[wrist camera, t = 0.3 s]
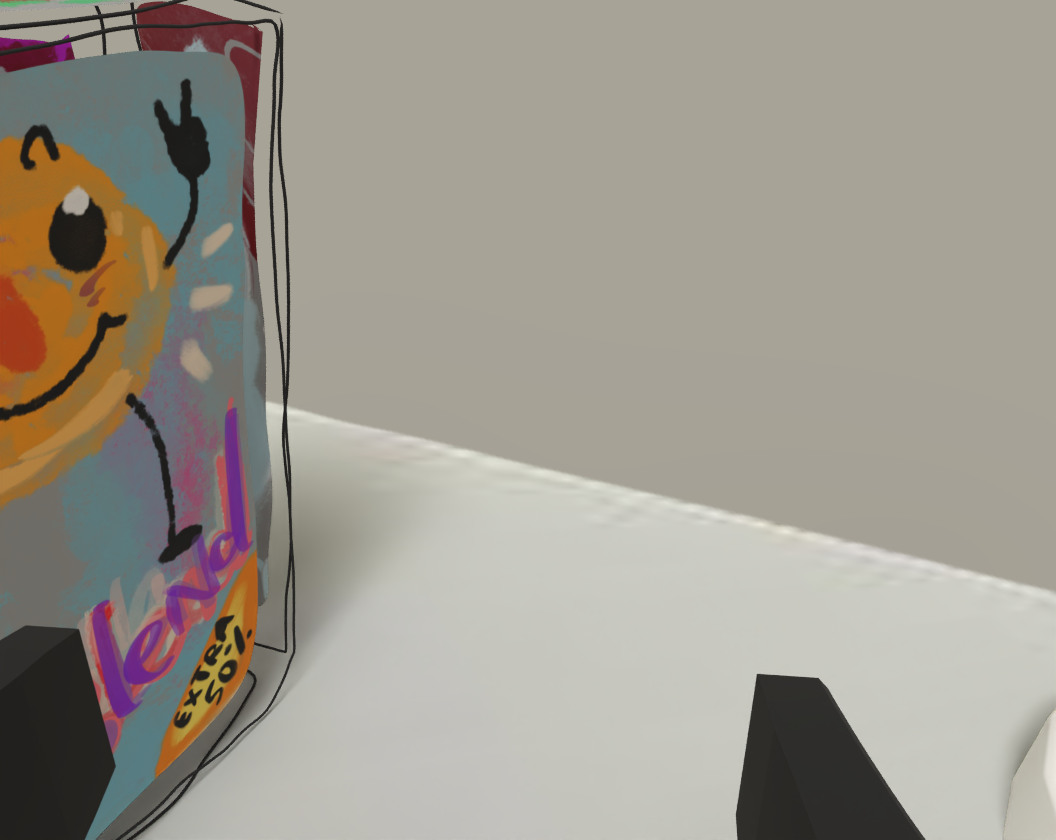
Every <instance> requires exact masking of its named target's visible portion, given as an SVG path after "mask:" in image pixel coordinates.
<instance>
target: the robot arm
mask: <svg viewBox="0 0 1056 840" xmlns="http://www.w3.org/2000/svg"><path fill="white" fill-rule="evenodd" d="M115 768H116V764H115V761H114V757H113V753H112V749H111V746H110V742H109V738H108V735H107V731H106V727H105V723H104V720H103V716H102V712H101V709H100V705H99V701H98V697H97V694H96V690H95V686H94V683H93V679H92V675H91V671H90V668H89V664H88V660H87V657H86V653H85V649H84V645H83V642H82V638H81V634H80V631H79V629H74V628H59V627H44V626H29V625H25V626H23V627H22V628H20V629H18V630H17V631H15V632H13V633H11V634H10V635H8V636H6V637H5V638H3V639H1V640H0V840H85V838H86V836H87V834H88V832H89V829H90V827H91V825H92V823H93V821H94V818H95V816H96V814H97V811H98V809H99V806H100V804H101V802H102V799H103V797H104V794H105V792H106V790H107V787H108V785H109V782H110V780H111V777H112V775H113V773H114V770H115ZM736 824H737V839H738V840H925V838H924V837H923V835H922V834H921V833H920V831H919V830H918V828H917V827H916V826H915V824H914V823H913V821H912V820H911V819H910V817H909V816H908V814H907V813H906V811H905V810H904V808H903V807H902V805H901V804H900V802H899V801H898V800H897V798H896V797H895V795H894V794H893V792H892V791H891V789H890V788H889V786H888V785H887V783H886V781H885V780H884V778H883V777H882V775H881V774H880V772H879V771H878V769H877V768H876V766H875V765H874V763H873V762H872V760H871V758H870V757H869V755H868V754H867V752H866V751H865V749H864V747H863V746H862V744H861V743H860V741H859V740H858V738H857V736H856V735H855V733H854V731H853V730H852V728H851V727H850V725H849V723H848V722H847V720H846V718H845V717H844V715H843V713H842V712H841V710H840V708H839V707H838V705H837V703H836V702H835V700H834V698H833V697H832V695H831V693H830V691H829V690H828V688H827V687H826V686H825V685H824V684H823V683H822V681H821V680H820V679H819V678H810V677H795V676H780V675H765V674H757V678H756V685H755V691H754V698H753V704H752V711H751V718H750V724H749V731H748V738H747V744H746V751H745V758H744V764H743V771H742V778H741V784H740V791H739V798H738V804H737V811H736Z"/></svg>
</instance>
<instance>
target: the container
mask: <svg viewBox="0 0 1056 840" xmlns="http://www.w3.org/2000/svg"><path fill="white" fill-rule="evenodd" d="M1003 840H1056V709H1055V710H1054V711H1053V712H1052V713H1051V714H1050V715H1049V717H1048V718H1047V720H1046V722H1045V724H1044V725H1043V727H1042V729H1041V731H1040V732H1039V734H1038V736H1037V738H1036V739H1035V741H1034V743H1033V745H1032V746H1031V748H1030V750H1029V752H1028V753H1027V755H1026V757H1025V758H1024V760H1023V762H1022V764H1021V765H1020V767H1019V769H1018V771H1017V772H1016V774H1015V776H1014V778H1013V779H1012V784H1011V790H1010V797H1009V803H1008V810H1007V816H1006V822H1005V829H1004V835H1003Z"/></svg>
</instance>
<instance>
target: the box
mask: <svg viewBox="0 0 1056 840" xmlns="http://www.w3.org/2000/svg"><path fill="white" fill-rule="evenodd" d="M138 1H143V0H0V11H15V10H32V9H50V8H67V7H84V6H95V8H96V11H97V13H98V15H92V16H85V17H77V18H69V19H61V20H51V21H42V22H32V23H20V24H9V25H0V30H9V29H19V28H29V27H39V26H49V25H58V24H66V23H75V22H82V21H89V20H96V19H99V20H100V24H101V30H99V31H94V32H90V33H86V34H82V35H78V36H75V37H71V38H69V35H67V36H66V37H64V38H63V39H62V40H58V41H53V42H45V41H37V40H22V39H9V38H0V640H1V639H3V638H5V637H6V636H8V635H10V634H11V633H13V632H15V631H17V630H18V629H20V628H22V627H23V626H25V625H29V626H44V627H59V628H74V629H79V631H80V634H81V638H82V642H83V645H84V649H85V653H86V657H87V660H88V664H89V668H90V671H91V675H92V679H93V683H94V686H95V690H96V694H97V697H98V701H99V705H100V709H101V712H102V716H103V720H104V723H105V727H106V731H107V735H108V738H109V742H110V746H111V749H112V753H113V757H114V761H115V764H116V768H115V770H114V773H113V775H112V777H111V780H110V782H109V785H108V787H107V790H106V792H105V794H104V797H103V799H102V802H101V804H100V806H99V809H98V811H97V814H96V816H95V818H94V821H93V823H92V825H91V827H90V829H89V832H88V834H87V836H86V838H85V840H95V839H96V838H97V837H98V836H99V835H100V834H101V833H102V832H103V831H104V830H105V829H106V828H107V827H108V826H109V825H110V824H111V823H112V822H113V821H114V820H115V819H116V818H117V817H118V816H119V815H120V814H121V813H122V812H123V811H124V810H125V809H126V807H127V806H128V805H129V804H131V803H132V802H133V801H134V800H135V799H136V798H137V797H138V796H139V795H140V794H141V793H142V792H143V791H144V790H145V789H146V788H147V787H148V786H149V785H150V784H151V783H152V782H153V781H154V780H155V779H156V778H157V777H158V776H159V775H160V774H161V773H162V772H163V771H164V770H165V769H166V768H167V767H168V766H169V765H170V764H171V763H172V762H173V761H174V760H175V759H176V758H177V757H178V756H179V755H180V754H181V753H183V752H184V751H185V750H186V748H187V747H188V746H189V745H190V744H191V743H192V742H193V741H194V740H195V739H196V738H197V737H198V736H199V735H200V734H201V733H202V732H203V731H204V730H205V729H206V728H207V727H208V726H209V725H210V724H211V723H212V721H213V720H214V719H215V718H216V717H217V716H218V715H219V714H220V713H221V711H222V710H223V709H224V708H225V707H226V705H227V704H228V703H229V702H230V700H231V699H232V698H233V696H234V695H235V693H236V692H237V690H238V688H239V687H240V685H241V683H242V681H243V679H244V677H245V675H246V672H248V673H250V674H251V675H252V676H253V678H254V683H253V686H252V688H251V690H250V691H249V693H248V695H247V696H246V698H245V700H244V701H243V703H242V705H241V707H240V708H239V710H238V712H237V713H236V715H235V716H234V718H233V719H232V721H231V722H230V724H229V725H228V726H227V728H226V729H225V730H224V732H223V733H222V735H221V736H220V737H219V738H218V740H217V741H216V742H215V744H214V745H213V746H212V748H211V749H210V750H209V752H208V753H207V755H206V756H205V757H204V759H203V760H202V762H201V763H200V765H199V766H198V768H197V770H195V771H194V772H192V773H191V774H189V775H188V776H187V777H186V778H185V779H183V780H182V781H181V782H180V783H179V784H178V785H177V786H176V787H175V788H174V789H173V790H172V791H171V792H170V794H169V795H168V796H167V797H166V798H165V799H164V800H163V801H162V802H161V803H160V804H159V805H158V806H157V807H156V808H155V809H154V810H153V811H151V812H150V813H149V814H148V815H147V816H146V817H144V818H143V819H142V820H140V821H139V822H138V823H137V824H135V825H134V826H133V827H131V828H130V829H129V830H127V831H126V832H125V833H124V834H122V835H121V836H120V837H118V838H117V839H116V840H120V839H121V838H123V837H124V836H125V835H127V834H128V833H129V832H130V831H132V830H133V829H134V828H136V827H137V826H138V825H140V824H141V823H142V822H143V821H145V820H146V819H147V818H148V817H150V816H151V815H152V814H153V813H154V812H155V811H156V810H157V809H159V808H160V807H161V806H162V805H163V804H164V803H165V802H166V800H167V799H168V798H169V797H170V796H171V795H172V794H173V793H174V792H175V791H176V789H177V788H178V787H179V786H181V785H182V784H183V783H184V782H185V781H186V780H187V779H188V778H190V777H191V776H192V775H193V776H192V778H191V779H190V781H189V782H188V784H187V785H186V786H185V788H184V789H183V790H182V792H181V793H180V794H179V795H178V797H177V798H176V799H175V800H174V801H173V802H172V803H171V804H170V805H169V806H168V807H167V808H166V809H164V810H163V811H162V812H161V813H160V814H159V815H158V816H156V817H155V818H154V819H153V820H152V821H151V822H149V823H148V824H147V825H146V826H144V827H143V828H142V829H141V830H139V831H138V832H137V833H135V834H134V835H133V836H131V837H130V838H129V839H127V840H132V839H133V838H134V837H136V836H137V835H138V834H140V833H141V832H142V831H144V830H145V829H146V828H147V827H149V826H150V825H151V824H152V823H153V822H155V821H156V820H157V819H158V818H159V817H160V816H162V815H163V814H164V813H165V812H166V811H167V810H168V809H170V808H171V807H172V806H173V805H174V804H175V803H176V802H177V800H178V799H179V798H180V797H181V796H182V794H183V793H184V792H185V791H186V789H187V788H188V786H189V785H190V784H191V782H192V781H193V779H194V778H195V776H196V774H197V773H198V771H200V770H201V769H202V768H204V767H205V766H206V765H208V764H209V763H210V762H212V761H213V760H214V759H216V758H217V757H218V756H220V755H221V754H222V753H224V752H225V751H226V750H227V749H228V748H229V747H230V746H231V745H232V744H233V743H234V742H235V741H236V739H237V738H238V737H239V736H240V735H241V734H242V733H243V732H244V731H246V730H247V729H248V728H249V727H250V726H251V725H253V724H254V723H255V722H257V721H258V720H259V719H260V718H261V717H263V715H264V714H265V713H266V712H267V711H268V709H269V708H270V707H271V705H272V703H273V702H274V700H275V698H276V696H277V694H278V692H279V690H280V688H281V686H282V684H283V682H284V680H285V677H286V675H287V672H288V669H289V666H290V664H291V661H292V659H293V656H294V654H295V570H294V555H293V541H292V518H291V466H290V455H289V443H288V428H287V398H288V386H289V360H290V275H289V274H290V273H289V248H288V211H287V197H286V189H285V182H284V174H283V166H282V155H281V109H282V96H283V24H282V21H281V20H280V21H281V27H280V36H279V30H278V26H277V24H276V23H275V22H274V21H273V20H271V19H262V20H256V21H239V20H232V19H229V18H226V17H222V16H220V15H216V14H214V13H211V12H208V11H205V10H202V9H199V8H195V7H192V6H188V5H183V4H177V3H180V2H183V1H187V0H173V1H169V2H163V1H162V2H150V3H144V4H141V5H140V6H139V7H138V9H135V10H134V3H133V2H138ZM235 1H239V2H242V3H245V4H248V5H251V6H254V7H258V8H261V9H264V10H268V11H273V12H278V11H276V10H273V9H270V8H268V7H265V6H262V5H259V4H255V3H252V2H249V1H246V0H235ZM122 3H130V5H131V10H129V11H123V12H115V13H107V14H101V12H100V9H99V7H98V6H99V5H112V4H122ZM278 13H280V12H278ZM131 14H132V20H133V25H127V26H119V27H112V28H107V29H105V28H104V23H103V18H110V17H117V16H125V15H131ZM135 14H137V24H136V20H135ZM265 22H267V23H272V24H273V25H274V28H275V31H276V39H277V41H276V53H275V62H274V69H273V100H272V125H271V142H270V173H269V194H270V195H269V196H270V217H271V237H272V253H273V269H274V287H275V303H276V315H277V324H278V331H279V341H280V349H281V361H282V378H283V379H282V380H283V402H284V412H283V423H282V448H283V459H284V469H285V478H286V486H287V495H288V509H289V530H290V550H289V566H288V577H287V584H286V592H285V651H284V650H280V649H276V648H273V647H269V646H266V645H262V644H258V643H255V642H254V641H255V634H256V625H257V610H258V606H261V605H262V604H263V603H264V602H265V600H266V598H267V595H268V548H269V535H270V526H271V514H272V474H271V463H270V453H269V444H268V435H267V425H266V398H265V397H266V394H265V393H266V346H265V328H264V317H263V308H262V299H261V292H260V291H261V290H260V282H259V273H258V263H257V253H256V236H255V207H254V181H253V180H254V178H253V159H254V145H255V132H256V118H257V103H258V88H259V74H260V61H261V47H262V31H259V30H258V29H257V27H256V26H254V25H253V24H259V23H265ZM248 25H253V26H254V28H252V27H250V26H248ZM129 29H134V31H135V36H136V41H137V44H138V48H139V51H133V52H125V53H117V54H109V55H106V38H105V33H109V32H115V31H120V30H129ZM137 29H138V31H139V35H138V31H137ZM100 34H102V42H103V55H101V56H94V57H87V58H80V59H75V57H74V53H73V50H72V46H71V42H73V41H77V40H80V39H84V38H88V37H92V36H96V35H100ZM139 36H140V40H139ZM140 41H141V44H140ZM141 46H142V48H141ZM279 48H280V90H279V107H278V156H279V166H280V174H281V181H282V189H283V197H284V208H285V209H284V210H285V242H286V243H285V244H286V269H287V371H286V386H285V364H284V351H283V342H282V334H281V325H280V316H279V305H278V290H277V270H276V254H275V236H274V216H273V195H272V194H273V191H272V182H273V147H274V129H275V109H276V73H277V64H278V56H279ZM142 49H143V51H142ZM285 439H286V451H287V461H288V473H287V464H286V452H285ZM288 476H289V481H288ZM291 560H292V589H293V653H292V655H291V658H290V660H289V663H288V666H287V669H286V671H285V674H284V676H283V679H282V681H281V683H280V685H279V687H278V689H277V691H276V693H275V695H274V697H273V699H272V701H271V703H270V704H269V706H268V707H267V709H266V710H265V711H264V712H263V713H262V714H261V715H260V716H259V717H258V718H257V719H256V720H254V721H253V722H252V723H250V724H249V725H248V726H247V727H246V728H244V729H243V730H242V731H241V732H240V733H239V734H238V735H237V736H236V737H235V738H234V739H233V740H232V742H231V743H230V744H229V745H228V746H227V747H226V748H225V749H224V750H222V751H221V752H220V753H219V754H217V755H216V756H214V757H213V758H212V759H210V760H209V761H208V762H206V763H205V764H204V765H203V763H204V761H205V760H206V759H207V757H208V756H209V754H210V753H211V752H212V750H213V749H214V748H215V746H216V745H217V744H218V742H219V741H220V740H221V738H222V737H223V736H224V734H225V733H226V732H227V730H228V729H229V727H230V726H231V725H232V723H233V722H234V720H235V719H236V717H237V716H238V714H239V713H240V711H241V709H242V708H243V706H244V704H245V702H246V701H247V699H248V697H249V695H250V694H251V692H252V690H253V689H254V687H255V684H256V681H257V680H256V677H255V675H254V674H253V673H252V672H251V671H250V670H248V667H249V664H250V661H251V656H252V652H253V647H254V645H257V646H261V647H264V648H268V649H272V650H275V651H278V652H282V653H287V596H288V587H289V580H290V571H291Z"/></svg>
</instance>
